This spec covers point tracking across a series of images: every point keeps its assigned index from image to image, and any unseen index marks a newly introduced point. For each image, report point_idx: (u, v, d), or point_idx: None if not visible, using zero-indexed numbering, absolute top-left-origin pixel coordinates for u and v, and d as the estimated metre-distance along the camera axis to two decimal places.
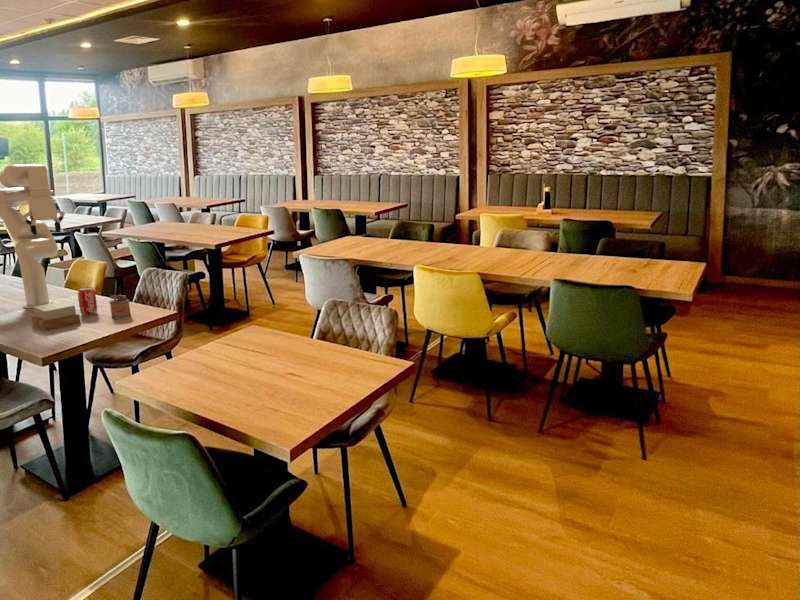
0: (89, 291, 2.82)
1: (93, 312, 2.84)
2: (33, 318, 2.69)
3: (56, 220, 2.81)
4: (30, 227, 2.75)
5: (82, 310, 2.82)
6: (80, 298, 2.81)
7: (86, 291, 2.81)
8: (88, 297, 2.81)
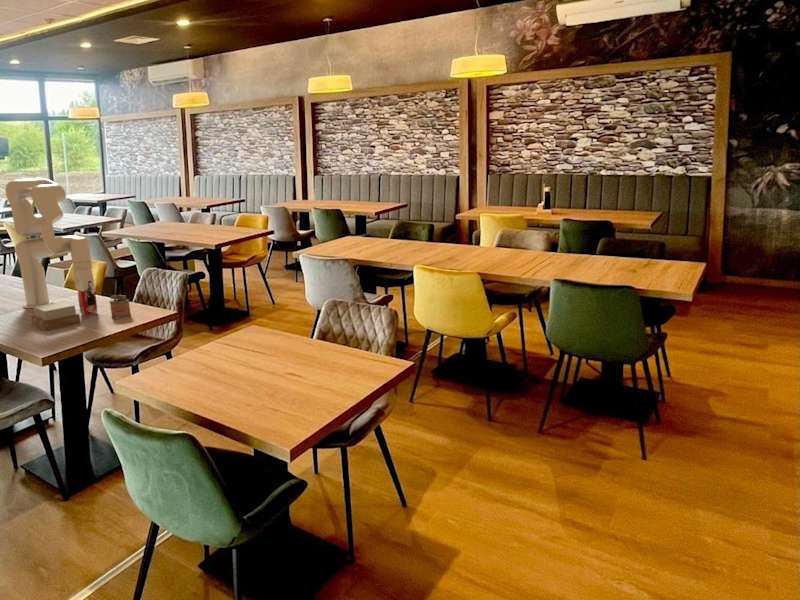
0: None
1: (93, 312, 2.84)
2: (33, 318, 2.69)
3: None
4: (90, 299, 2.81)
5: (82, 310, 2.82)
6: (80, 298, 2.81)
7: None
8: None
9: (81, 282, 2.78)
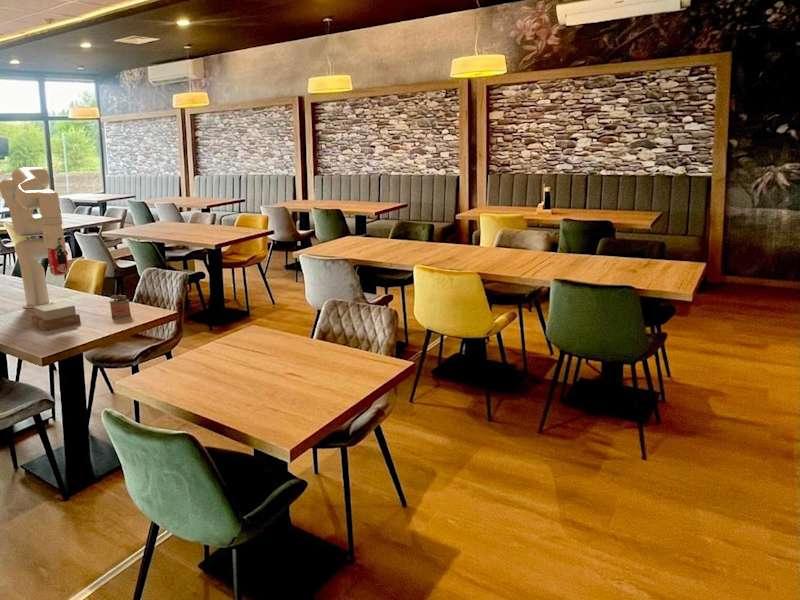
0: None
1: (64, 272, 2.69)
2: (33, 318, 2.69)
3: None
4: (60, 257, 2.65)
5: (52, 269, 2.67)
6: (50, 256, 2.66)
7: None
8: None
9: (51, 239, 2.63)
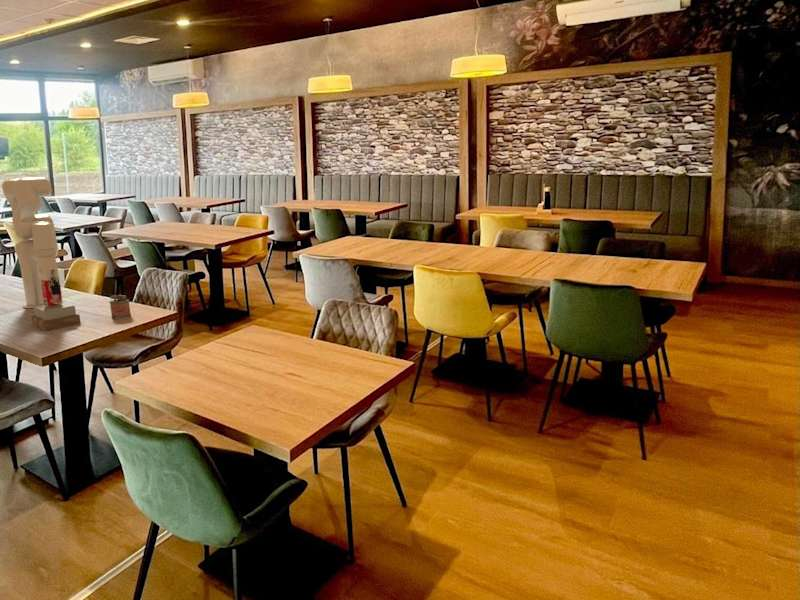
0: (53, 281, 2.65)
1: (57, 303, 2.67)
2: (33, 318, 2.69)
3: None
4: (54, 287, 2.63)
5: (45, 301, 2.66)
6: (43, 288, 2.64)
7: None
8: None
9: (44, 271, 2.61)
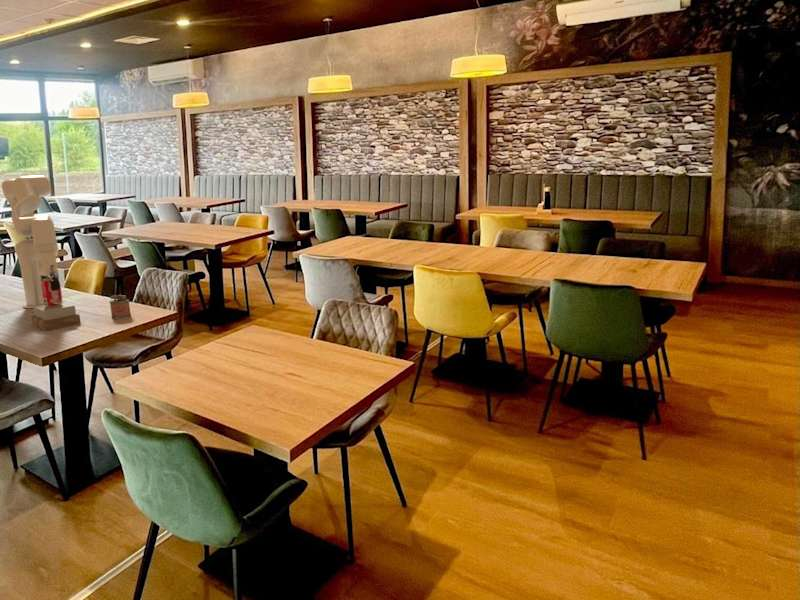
0: None
1: (57, 303, 2.67)
2: (33, 318, 2.69)
3: None
4: (53, 283, 2.63)
5: (45, 301, 2.66)
6: (43, 288, 2.64)
7: None
8: None
9: (43, 266, 2.61)
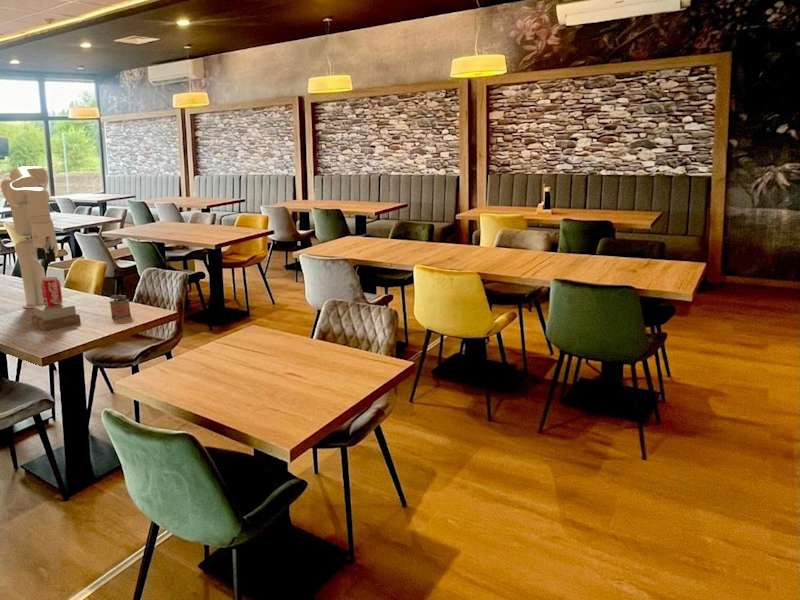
0: (53, 281, 2.65)
1: (57, 303, 2.67)
2: (33, 318, 2.69)
3: (44, 246, 2.67)
4: (49, 254, 2.60)
5: (45, 301, 2.66)
6: (43, 288, 2.64)
7: (50, 281, 2.64)
8: (51, 288, 2.65)
9: (39, 238, 2.58)
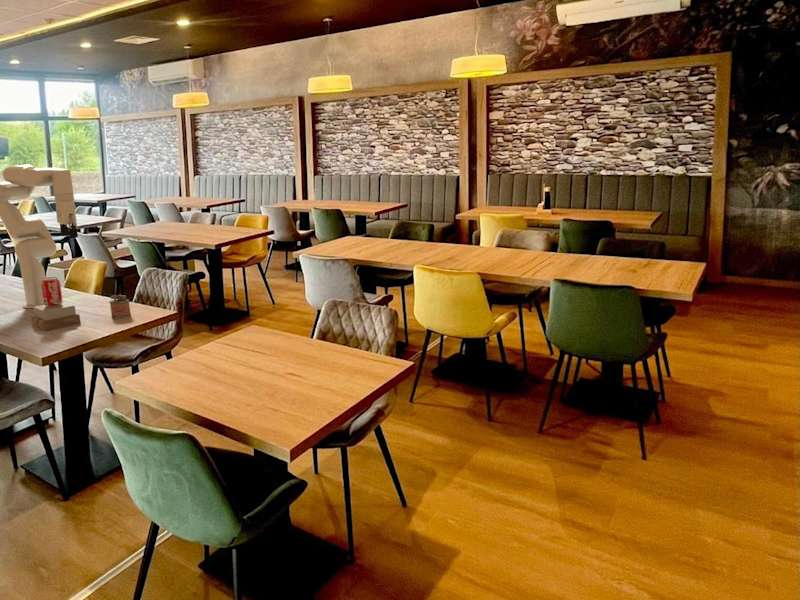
0: (53, 281, 2.65)
1: (57, 303, 2.67)
2: (33, 318, 2.69)
3: (67, 223, 2.84)
4: (72, 231, 2.76)
5: (45, 301, 2.66)
6: (43, 288, 2.64)
7: (50, 281, 2.64)
8: (51, 288, 2.65)
9: (62, 214, 2.75)
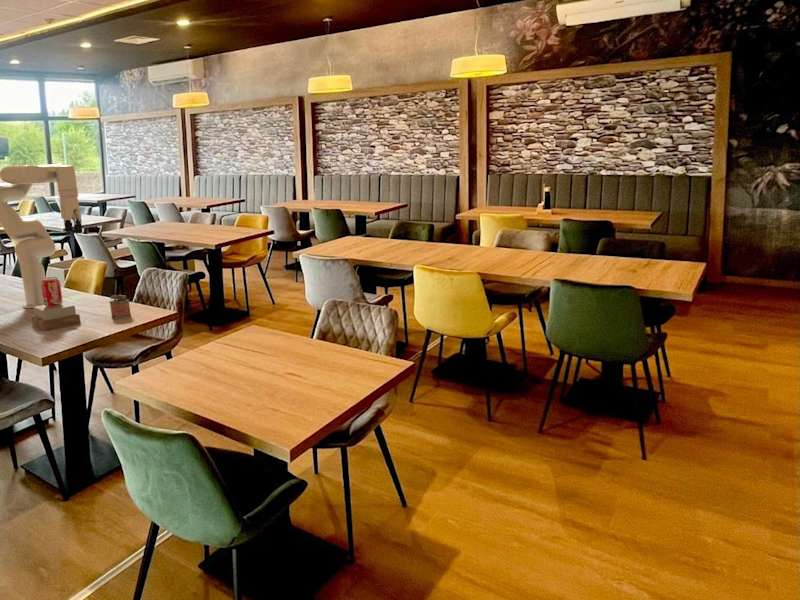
0: (53, 281, 2.65)
1: (57, 303, 2.67)
2: (33, 318, 2.69)
3: None
4: (77, 226, 2.79)
5: (45, 301, 2.66)
6: (43, 288, 2.64)
7: (50, 281, 2.64)
8: (51, 288, 2.65)
9: (67, 210, 2.78)
